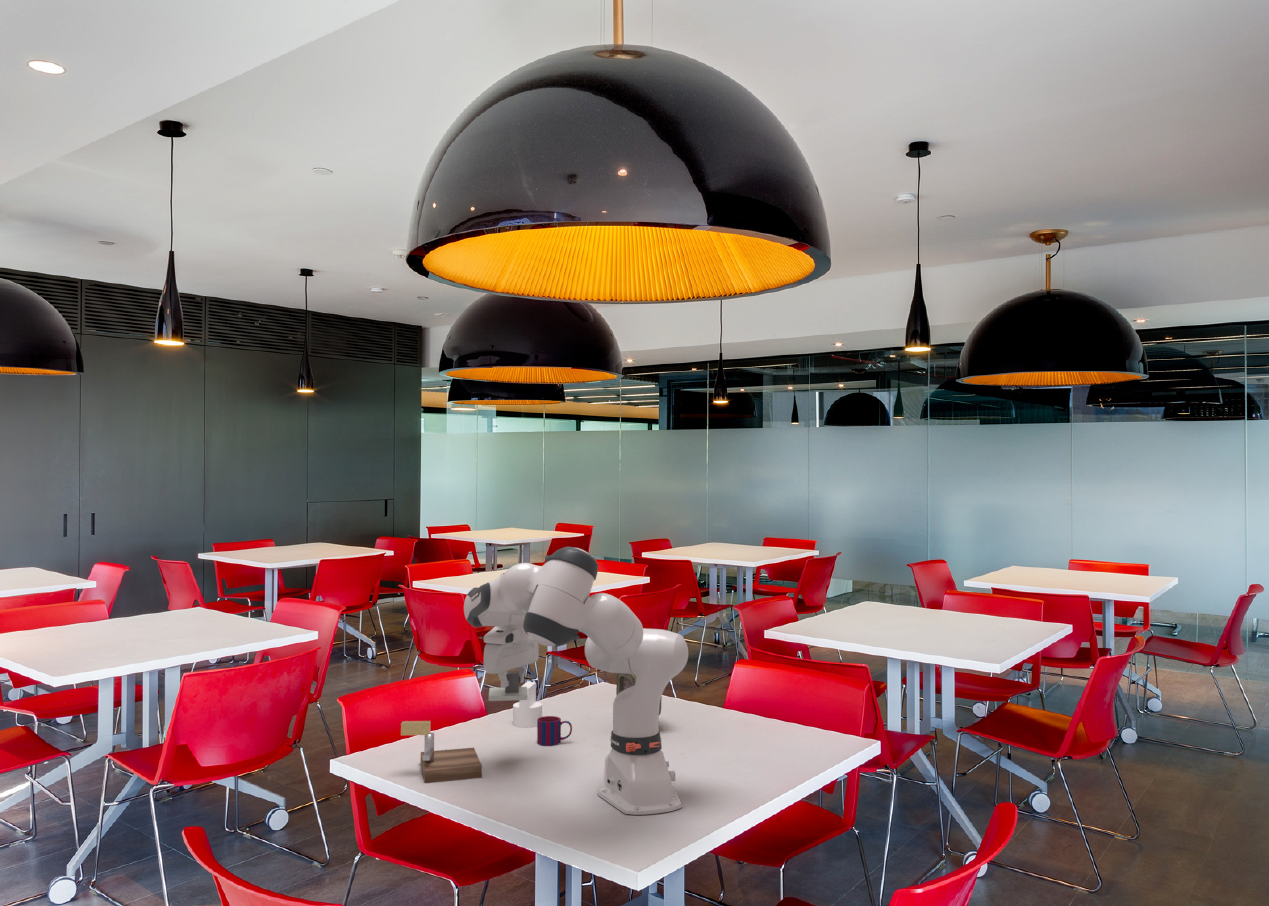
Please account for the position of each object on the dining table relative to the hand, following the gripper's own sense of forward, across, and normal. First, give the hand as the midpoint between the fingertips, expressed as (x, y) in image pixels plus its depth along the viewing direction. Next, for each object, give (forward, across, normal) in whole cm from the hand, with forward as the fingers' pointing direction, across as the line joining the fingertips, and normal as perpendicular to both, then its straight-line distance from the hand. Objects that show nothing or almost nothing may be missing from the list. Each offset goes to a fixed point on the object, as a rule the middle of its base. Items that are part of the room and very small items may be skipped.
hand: (512, 684), depth 226 cm
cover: (+3, +1, -1) cm, 3 cm away
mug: (+21, -21, 0) cm, 30 cm away
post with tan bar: (+17, +20, -15) cm, 30 cm away
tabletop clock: (+21, -46, +14) cm, 53 cm away
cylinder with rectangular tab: (+21, -34, -19) cm, 45 cm away
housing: (+21, +12, -10) cm, 26 cm away
